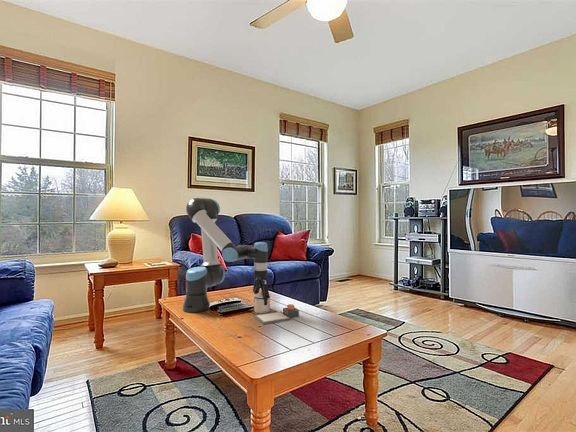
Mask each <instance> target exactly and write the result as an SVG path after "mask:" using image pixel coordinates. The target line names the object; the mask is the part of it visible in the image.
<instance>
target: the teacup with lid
mask: <svg viewBox="0 0 576 432" xmlns="http://www.w3.org/2000/svg"><path fill="white" fill-rule="evenodd" d="M254 297H255V298H254ZM262 298H263V295H262V291H261V290H260V291H259V293H258V294H256V295H255V296H254V295H253V303H255V305H254V312H255V313H256V314H259V315H260V314H267V313H270V311H271V295H270V294H269V299H268V311H262Z"/></svg>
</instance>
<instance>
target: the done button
mask: <svg viewBox="0 0 576 432" xmlns="http://www.w3.org/2000/svg"><path fill="white" fill-rule="evenodd" d="M294 307H295V305H294V304H292V303H289V304H287V306H286V308H287V310H288V311H291V310H294Z"/></svg>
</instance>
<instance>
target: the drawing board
mask: <svg viewBox="0 0 576 432" xmlns="http://www.w3.org/2000/svg"><path fill="white" fill-rule="evenodd" d="M253 318H255V319H256V320H257V321H258V322H260V323H261V324H262V325H267V324H268V325H269V324H274V323H279V322H287V321H291V320H292V318H290V317H288V316H286V315H285V314H283V311H282V312H281V311H276V312H274V311H273V312H268V313H263V314H260V313H259V314H254V315H253Z"/></svg>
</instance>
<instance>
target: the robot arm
mask: <svg viewBox="0 0 576 432" xmlns="http://www.w3.org/2000/svg"><path fill="white" fill-rule="evenodd" d="M185 208H186V209H185V212H186V214H187V216H188V217H189V219H190V220H191V221H192V222H193V223H196V224H197V225H198V226H199V227H200V231H201V245H202V256H203V262H202V264H201V266H194V267H191V268H188V269H187V271H186V273H185V298H184V301H183V303H182V310H183V312H186V313H201V312H205V311H208V310H210V308H209V306H210V307H211V303H210V301H209V297H208V288H210V287H215V286H218V285H220V284H221V283H222V282H223V281H224V280H225V278H226V271H225V268H224V267H223V265H222V264H221V262H220V260H219V257H218V249H219V250H220V251H221V252H222V253H221V255H222V259H223V260H224V261H225V262H228V263H229V262H232V263H233V262H236V261H240V260H245V259H252V260H253V269H254V271H253V274H254V276H253V277H254V279H253V280H254V282H253V288H252V292H253V293H254V295H253V299H254V298H255V297H254V296H255V295H256V294H258V293H260V292H261V291H262V295H263V298H262V311H268V299H269V295H270V293H269V285H268V284H269V282H268V280H266V278H267V277H268V265H269V262H268V255H269V254H268V252H269V249H268V243H267V242H264V241H263V242H262V241H258V242H257V241H256V242H255V243H253V244H254V245H251V244H250V245H249V244H247V245H246V244H238V245H237V246H236V245H235V243H233V242H232V241H231V239H230V238H228V236H227V235H226V234H225V233H224V232H223V231H222V230H221V229H220V228H219V226H218V225H217V224H216V221H217V220H218V216H219V214H220V211H221V207H220V204H219V201H217V200H215V199H212V198H206V197H205V198H203V197H194V198H191V199H190V200H189V201H188V202H187V204H186V206H185ZM221 265H222V266H221ZM253 303H254V302H253ZM253 305H254V306H255V303H254V304H253Z"/></svg>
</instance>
